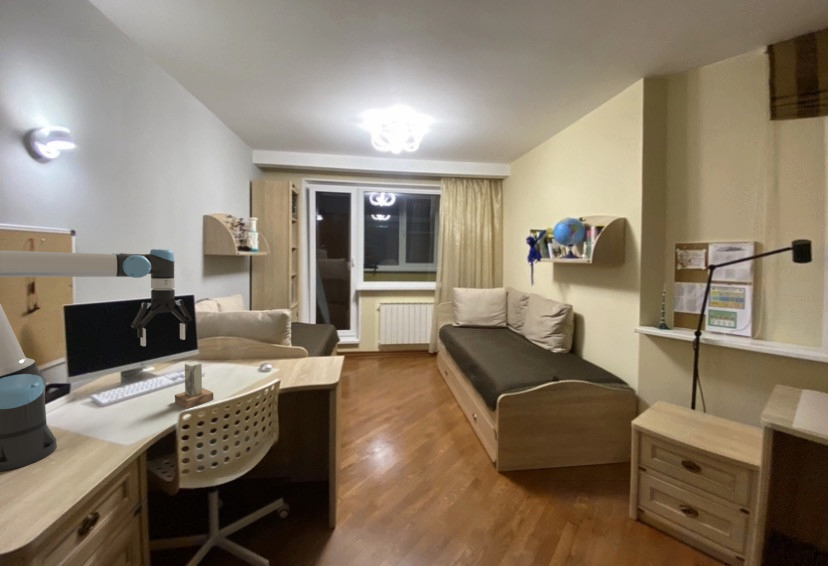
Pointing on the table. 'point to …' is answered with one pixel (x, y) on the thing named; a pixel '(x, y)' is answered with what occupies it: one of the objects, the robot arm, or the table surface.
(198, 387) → the box
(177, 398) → the base
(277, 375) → the table surface
